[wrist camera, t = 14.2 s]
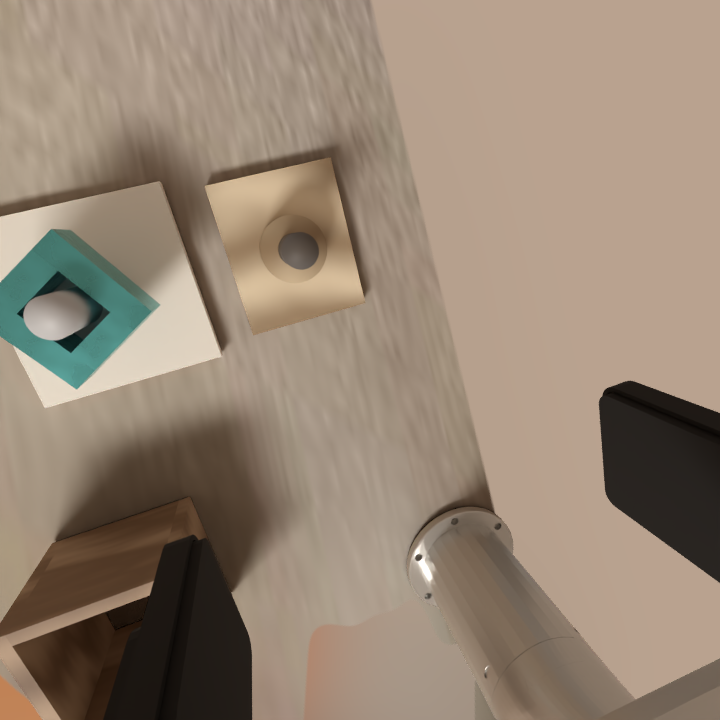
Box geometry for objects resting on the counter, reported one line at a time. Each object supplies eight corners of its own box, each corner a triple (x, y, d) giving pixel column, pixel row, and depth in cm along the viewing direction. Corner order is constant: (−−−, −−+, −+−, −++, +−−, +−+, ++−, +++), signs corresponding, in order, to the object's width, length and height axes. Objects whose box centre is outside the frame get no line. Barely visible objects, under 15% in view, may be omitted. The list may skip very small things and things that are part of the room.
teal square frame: (160, 304, 31) (151, 311, 28) (92, 375, 31) (76, 389, 28) (70, 229, 28) (51, 228, 26) (-4, 307, 29) (-31, 314, 26)
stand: (362, 301, 39) (391, 317, 31) (253, 332, 38) (254, 357, 30) (328, 159, 36) (351, 136, 28) (205, 187, 34) (192, 171, 26)
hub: (222, 353, 38) (213, 391, 28) (50, 403, 35) (-21, 462, 26) (161, 182, 33) (127, 160, 24) (-39, 227, 31) (-164, 222, 22)
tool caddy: (232, 595, 44) (227, 691, 35) (108, 642, 42) (68, 757, 33) (189, 496, 40) (172, 574, 31) (52, 543, 38) (-12, 641, 29)
